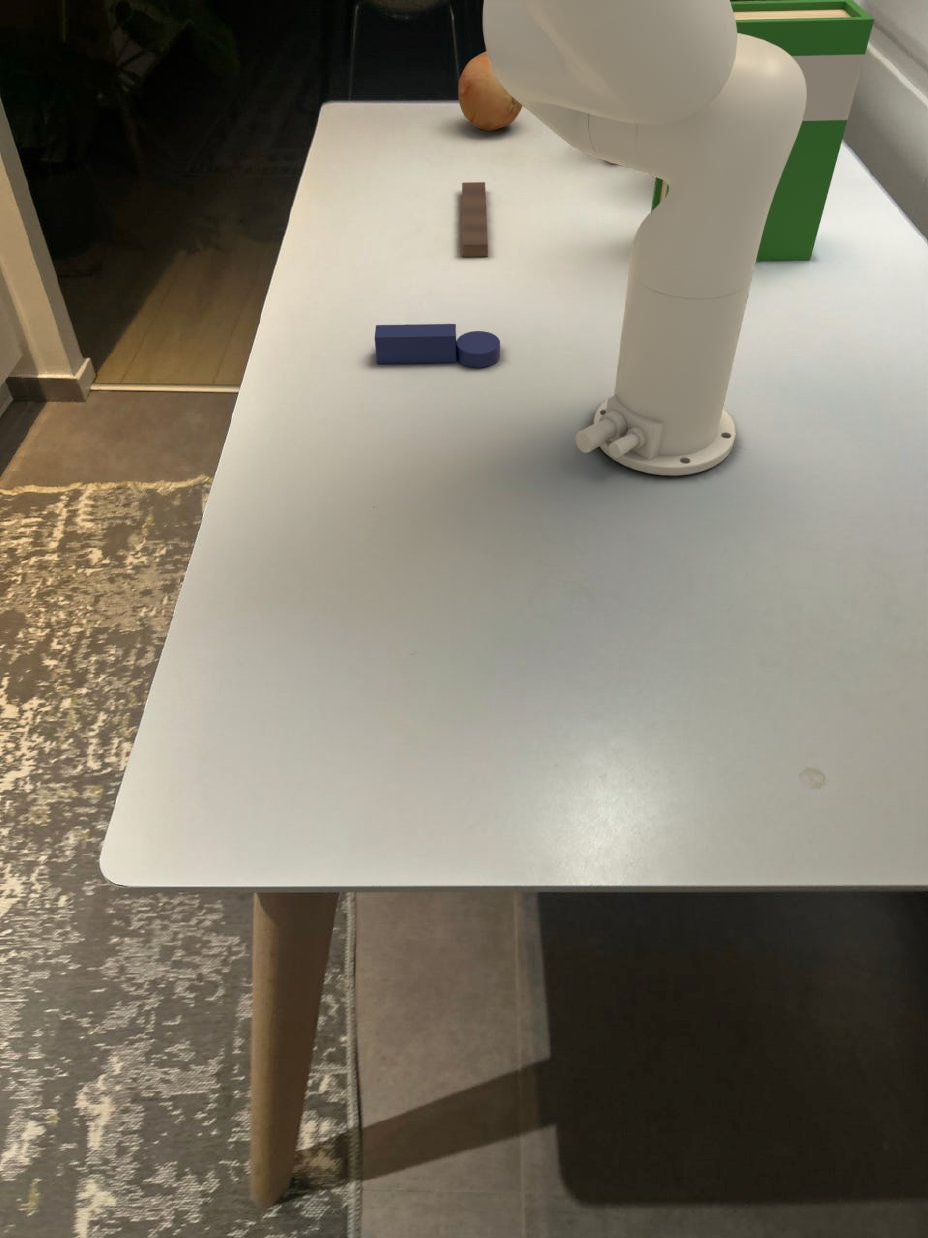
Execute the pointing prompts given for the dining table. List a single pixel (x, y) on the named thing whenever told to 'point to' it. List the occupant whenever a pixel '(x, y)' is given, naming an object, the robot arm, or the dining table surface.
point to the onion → (485, 96)
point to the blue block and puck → (435, 345)
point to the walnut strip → (474, 220)
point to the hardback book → (806, 109)
